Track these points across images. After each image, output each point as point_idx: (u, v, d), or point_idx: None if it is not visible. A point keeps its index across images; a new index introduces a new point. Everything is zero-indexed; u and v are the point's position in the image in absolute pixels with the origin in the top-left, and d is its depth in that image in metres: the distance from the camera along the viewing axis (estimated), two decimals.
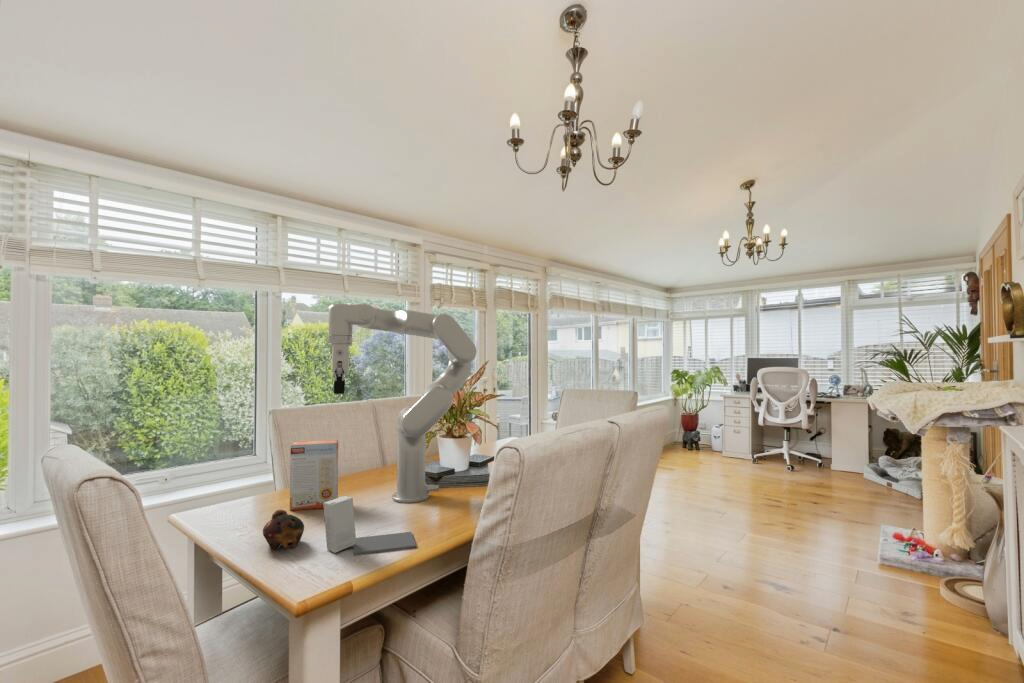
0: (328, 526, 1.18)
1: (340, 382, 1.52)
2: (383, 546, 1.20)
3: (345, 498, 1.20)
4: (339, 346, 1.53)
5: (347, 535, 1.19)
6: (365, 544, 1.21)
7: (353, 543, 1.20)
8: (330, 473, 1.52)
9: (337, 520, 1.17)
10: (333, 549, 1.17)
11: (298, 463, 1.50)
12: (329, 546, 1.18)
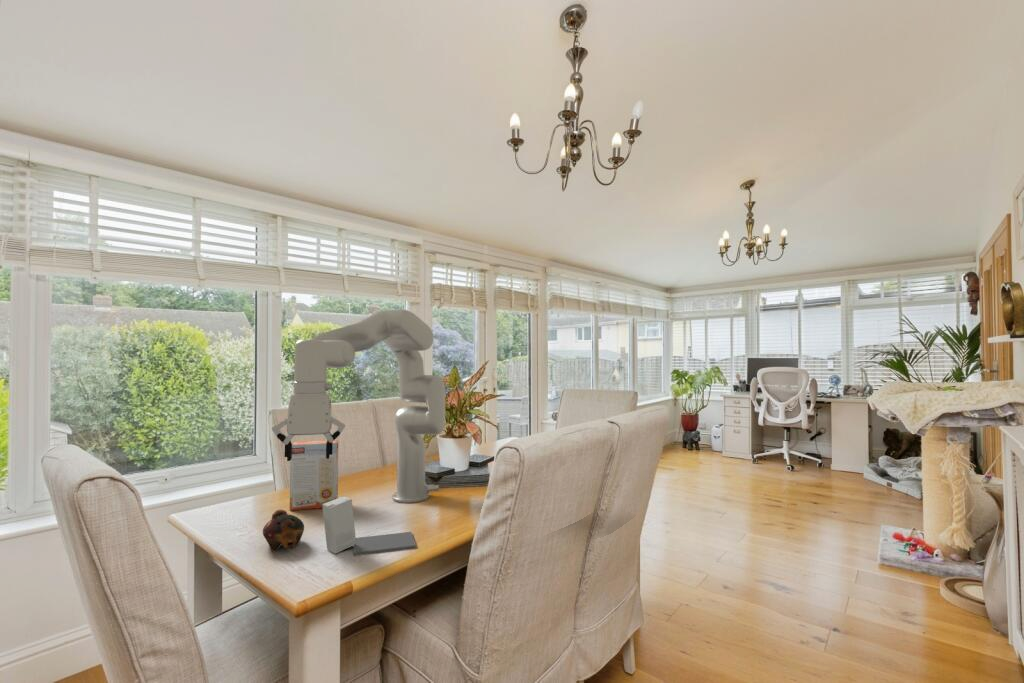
0: (327, 527, 1.17)
1: (332, 442, 1.20)
2: (383, 546, 1.20)
3: (344, 499, 1.20)
4: (329, 396, 1.20)
5: (347, 536, 1.19)
6: (365, 544, 1.21)
7: (353, 543, 1.20)
8: (330, 473, 1.52)
9: (336, 522, 1.17)
10: (333, 550, 1.17)
11: (298, 463, 1.50)
12: (329, 547, 1.18)
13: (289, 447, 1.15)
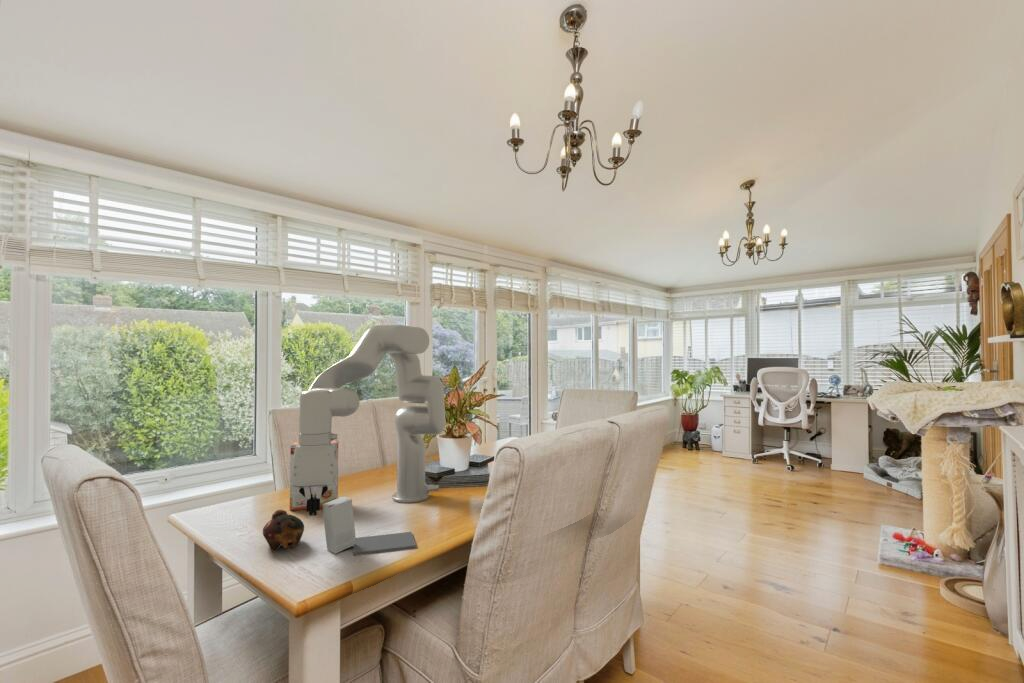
0: (327, 528, 1.17)
1: None
2: (383, 546, 1.20)
3: (344, 499, 1.20)
4: (333, 446, 1.20)
5: (347, 536, 1.19)
6: (365, 544, 1.21)
7: (353, 543, 1.20)
8: None
9: (336, 522, 1.17)
10: (333, 550, 1.17)
11: None
12: (329, 547, 1.18)
13: (311, 502, 1.16)
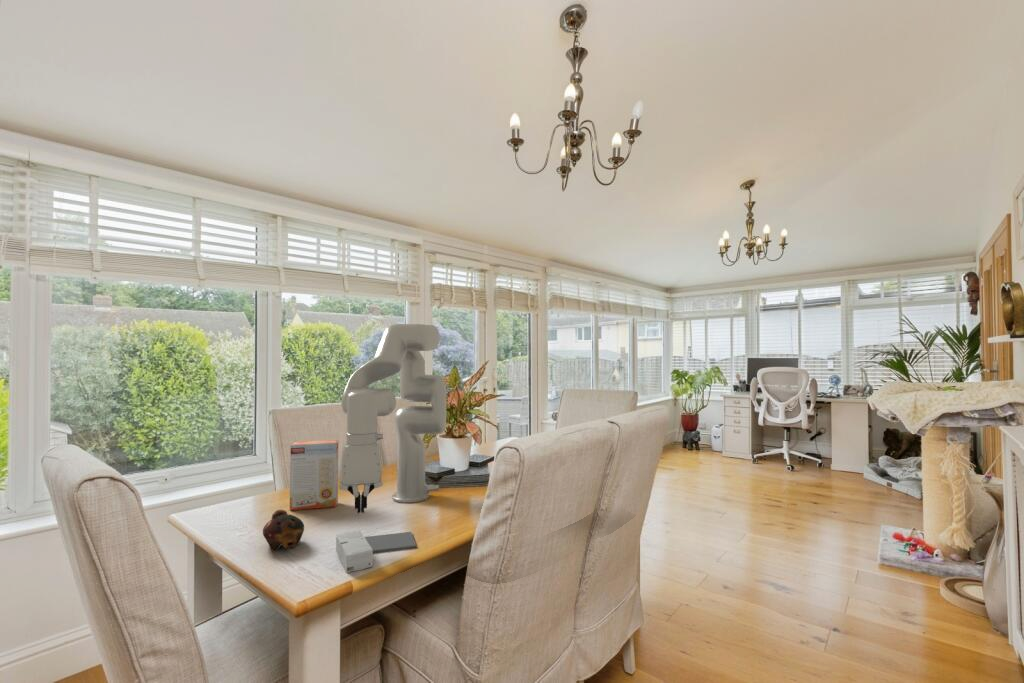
0: (341, 552, 1.11)
1: None
2: (383, 546, 1.20)
3: (367, 563, 1.09)
4: (379, 445, 1.23)
5: None
6: None
7: None
8: (330, 473, 1.52)
9: None
10: (336, 549, 1.16)
11: (298, 463, 1.50)
12: (336, 542, 1.15)
13: (359, 500, 1.20)
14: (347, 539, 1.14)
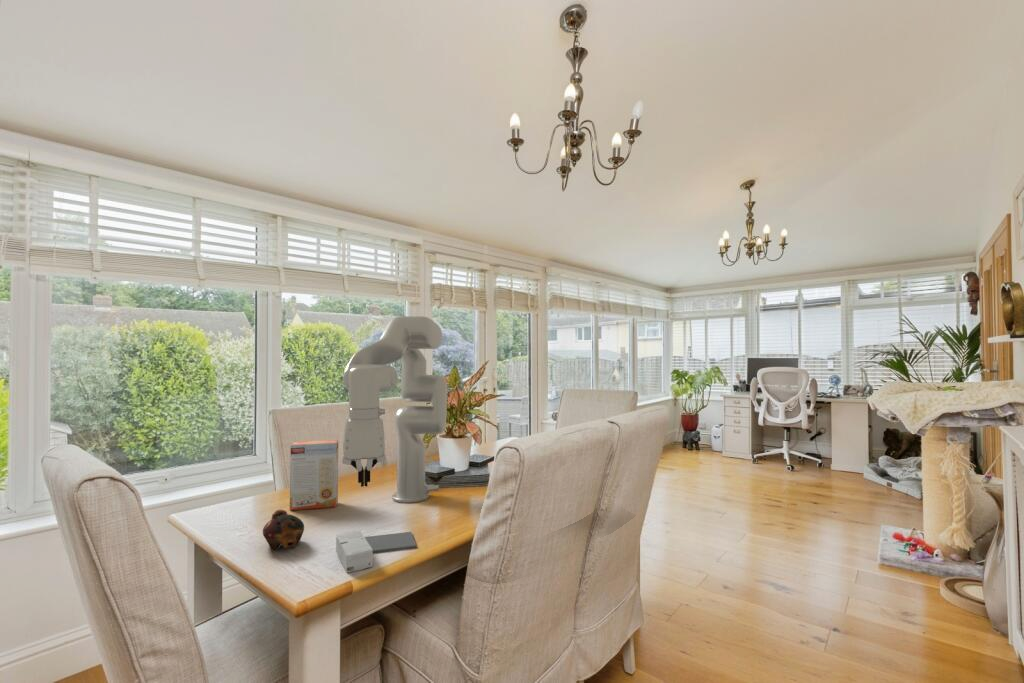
0: (341, 552, 1.11)
1: None
2: (383, 546, 1.20)
3: (367, 563, 1.09)
4: None
5: None
6: None
7: None
8: (330, 473, 1.53)
9: None
10: (336, 549, 1.16)
11: (298, 463, 1.50)
12: (336, 542, 1.15)
13: (363, 474, 1.21)
14: (347, 539, 1.14)
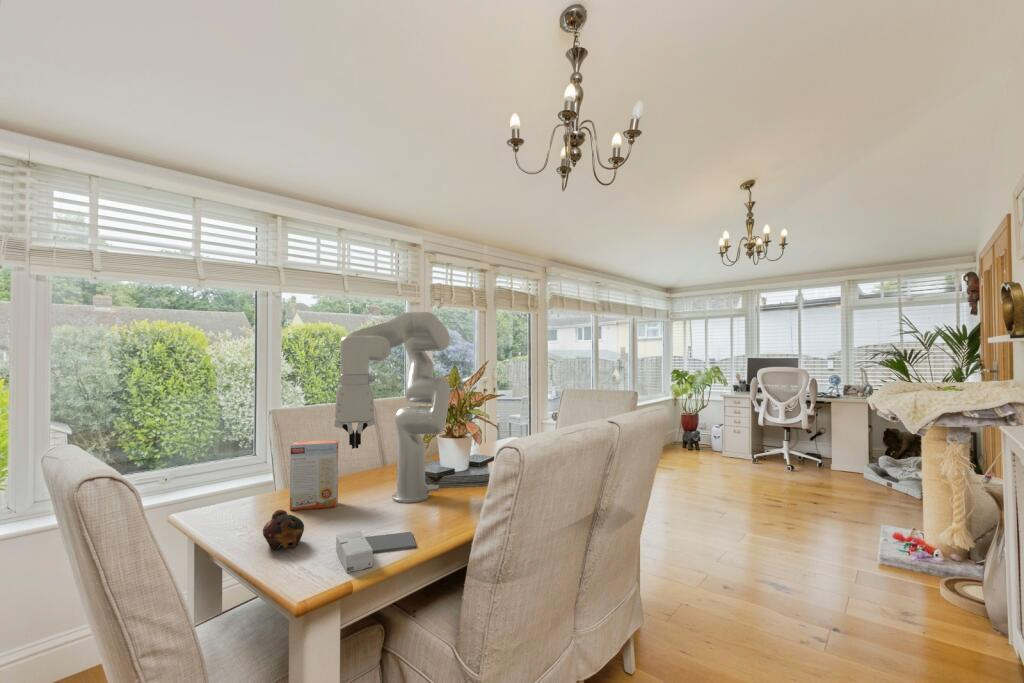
0: (341, 552, 1.11)
1: None
2: (383, 546, 1.20)
3: (367, 563, 1.09)
4: (371, 387, 1.32)
5: None
6: None
7: None
8: (330, 473, 1.53)
9: None
10: (336, 549, 1.16)
11: (298, 463, 1.50)
12: (336, 542, 1.15)
13: (354, 436, 1.29)
14: (347, 539, 1.14)
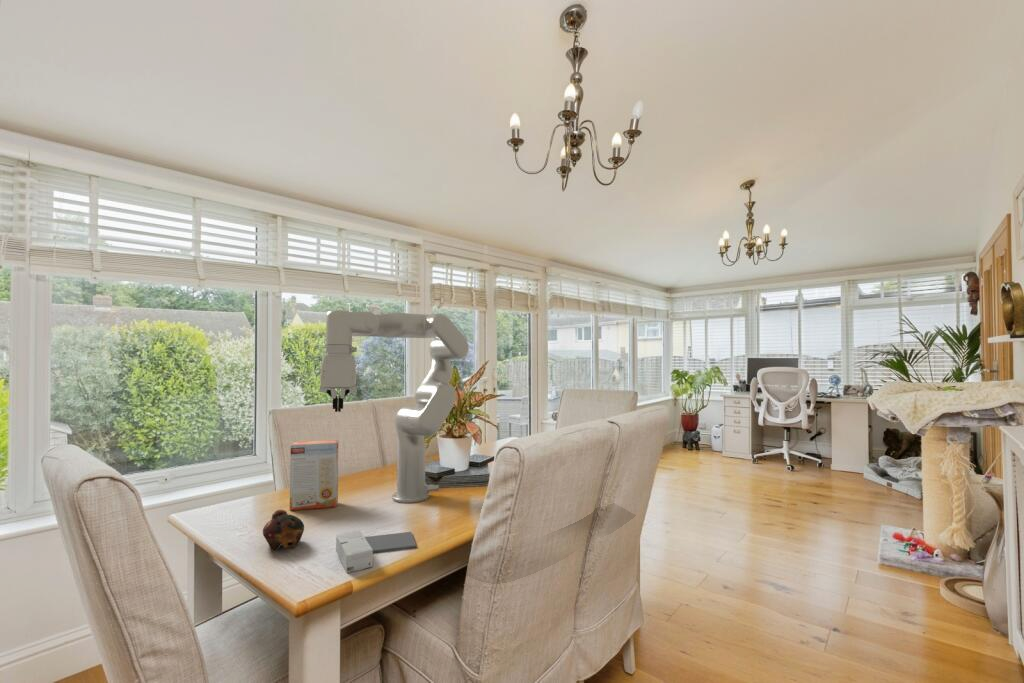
0: (341, 552, 1.11)
1: None
2: (383, 546, 1.20)
3: (367, 563, 1.09)
4: (354, 357, 1.46)
5: None
6: None
7: None
8: (330, 473, 1.52)
9: None
10: (336, 549, 1.16)
11: (298, 463, 1.50)
12: (336, 542, 1.15)
13: (336, 400, 1.42)
14: (347, 539, 1.14)
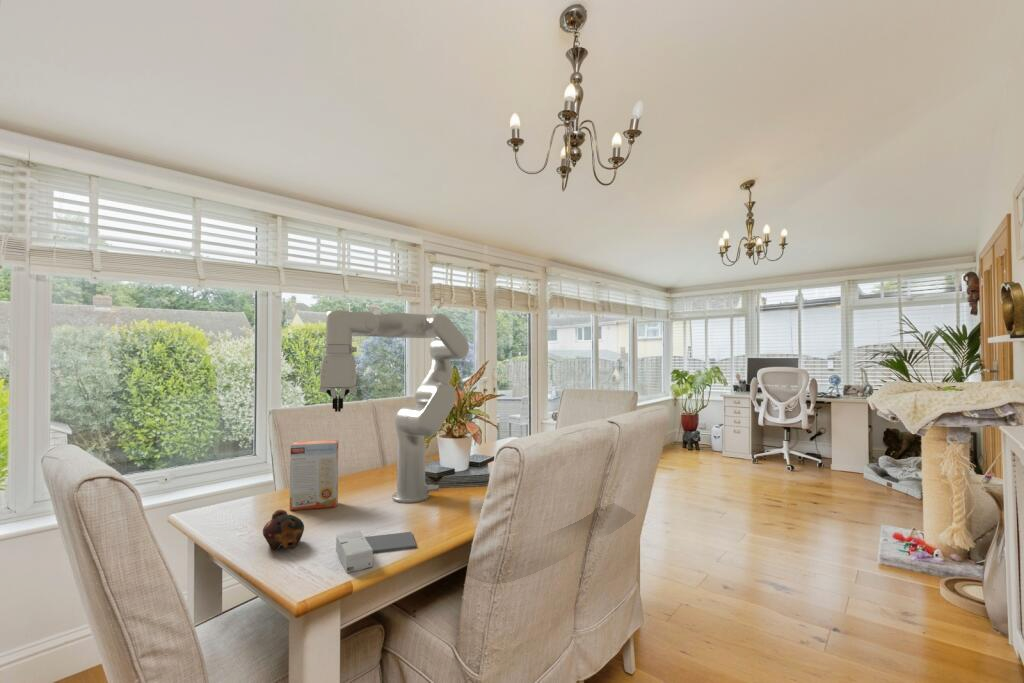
0: (341, 552, 1.11)
1: None
2: (383, 546, 1.20)
3: (367, 563, 1.09)
4: None
5: None
6: None
7: None
8: (330, 473, 1.52)
9: None
10: (336, 549, 1.16)
11: (298, 463, 1.50)
12: (336, 542, 1.15)
13: (336, 400, 1.42)
14: (347, 539, 1.14)
